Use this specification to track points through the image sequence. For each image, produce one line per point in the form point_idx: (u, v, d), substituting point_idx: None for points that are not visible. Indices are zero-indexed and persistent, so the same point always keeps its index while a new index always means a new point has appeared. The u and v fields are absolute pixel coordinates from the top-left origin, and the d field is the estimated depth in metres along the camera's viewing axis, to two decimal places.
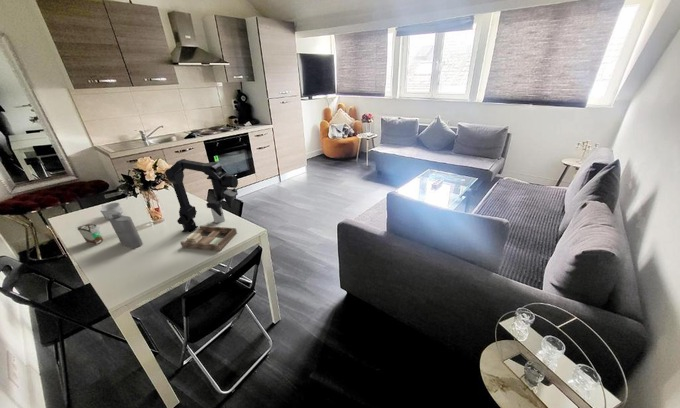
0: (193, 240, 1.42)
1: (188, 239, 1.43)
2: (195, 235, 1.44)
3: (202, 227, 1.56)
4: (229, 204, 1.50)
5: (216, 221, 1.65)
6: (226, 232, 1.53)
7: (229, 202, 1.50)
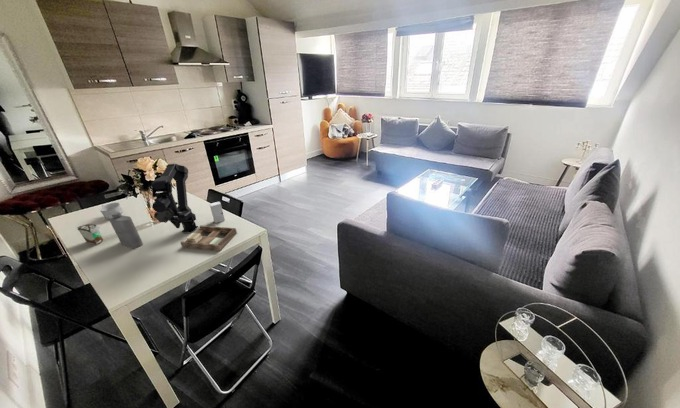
0: (193, 240, 1.42)
1: (188, 239, 1.43)
2: (195, 235, 1.44)
3: (202, 227, 1.56)
4: None
5: (216, 221, 1.65)
6: (226, 232, 1.53)
7: None
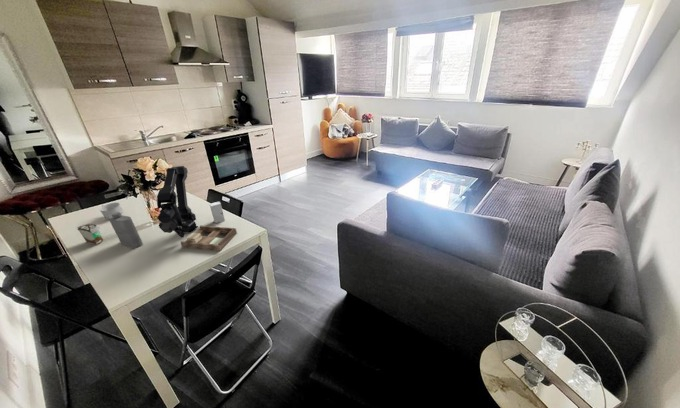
0: (193, 240, 1.42)
1: (188, 239, 1.43)
2: (195, 235, 1.44)
3: (202, 227, 1.56)
4: None
5: (216, 221, 1.65)
6: (226, 232, 1.53)
7: None
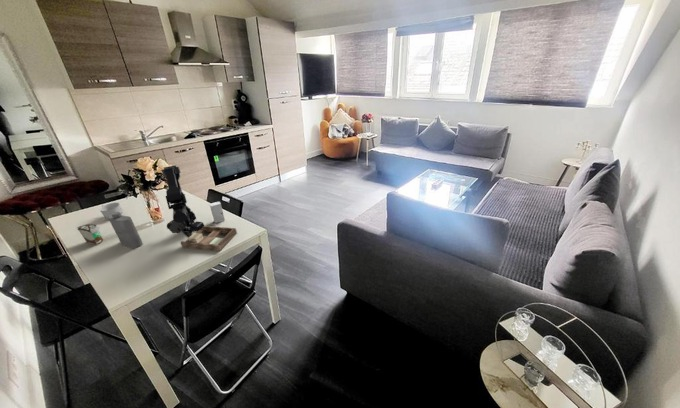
0: (194, 240, 1.42)
1: (189, 239, 1.43)
2: (196, 235, 1.44)
3: (202, 227, 1.56)
4: None
5: (216, 221, 1.65)
6: (226, 232, 1.53)
7: None
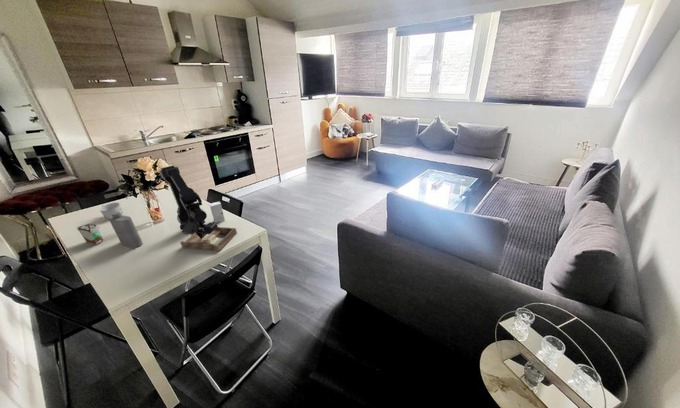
0: (208, 241, 1.41)
1: (203, 240, 1.41)
2: (210, 236, 1.43)
3: None
4: None
5: (216, 221, 1.65)
6: (226, 232, 1.53)
7: None
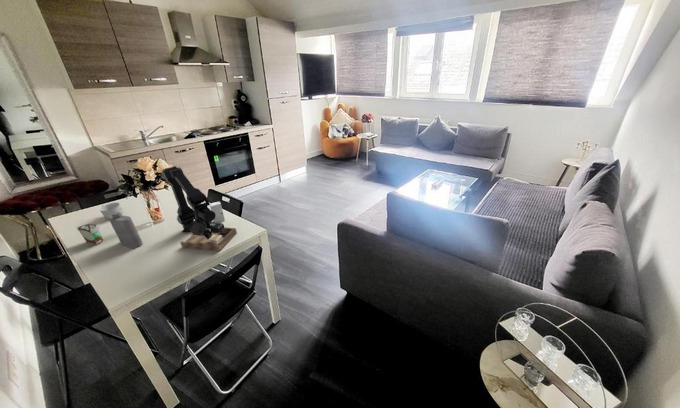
0: (215, 242, 1.40)
1: (210, 241, 1.41)
2: (216, 237, 1.42)
3: None
4: None
5: (216, 221, 1.65)
6: (226, 232, 1.53)
7: None
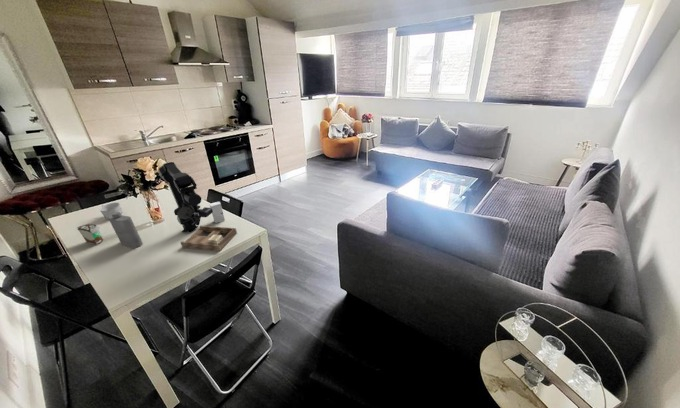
0: (215, 242, 1.40)
1: (210, 241, 1.41)
2: (216, 237, 1.42)
3: (202, 227, 1.56)
4: None
5: (216, 221, 1.65)
6: (226, 232, 1.53)
7: None
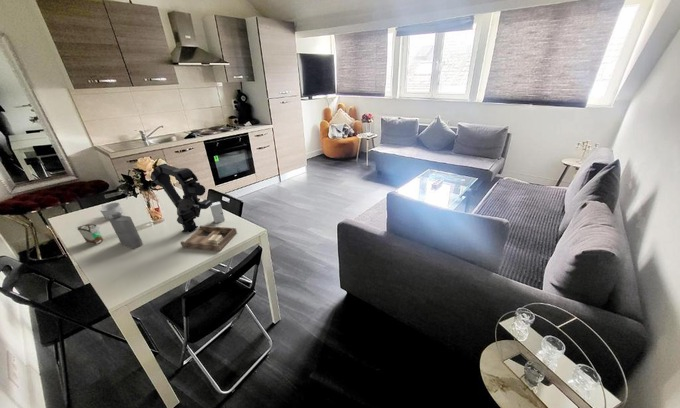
0: (215, 242, 1.40)
1: (210, 241, 1.41)
2: (216, 237, 1.42)
3: (202, 227, 1.56)
4: None
5: (216, 221, 1.65)
6: (226, 232, 1.53)
7: None
